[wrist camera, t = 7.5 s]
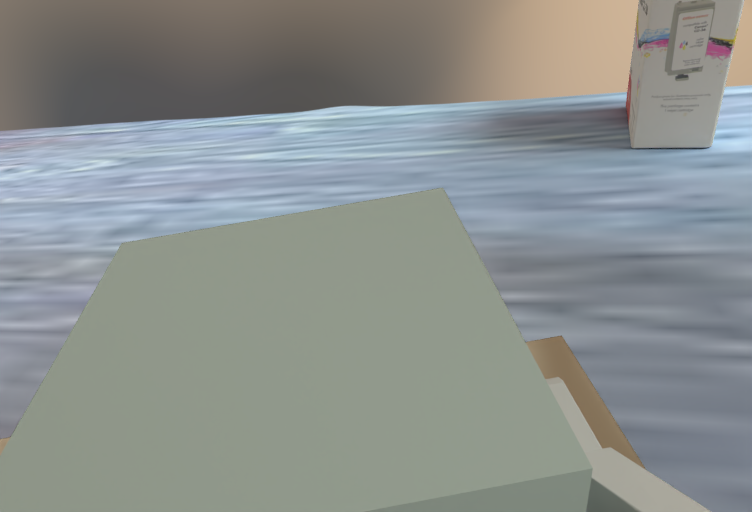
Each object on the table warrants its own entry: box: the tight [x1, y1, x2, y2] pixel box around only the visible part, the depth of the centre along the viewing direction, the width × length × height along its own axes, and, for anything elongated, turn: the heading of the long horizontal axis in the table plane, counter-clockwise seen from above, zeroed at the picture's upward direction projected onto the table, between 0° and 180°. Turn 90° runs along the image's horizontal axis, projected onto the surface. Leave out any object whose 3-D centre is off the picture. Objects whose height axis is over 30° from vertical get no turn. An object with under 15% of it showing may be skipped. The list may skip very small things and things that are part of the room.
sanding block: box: [0, 188, 593, 512], centre depth 10 cm, size 12×8×9 cm, turn 97°
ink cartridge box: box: [626, 0, 744, 148], centre depth 33 cm, size 9×5×15 cm, turn 161°
